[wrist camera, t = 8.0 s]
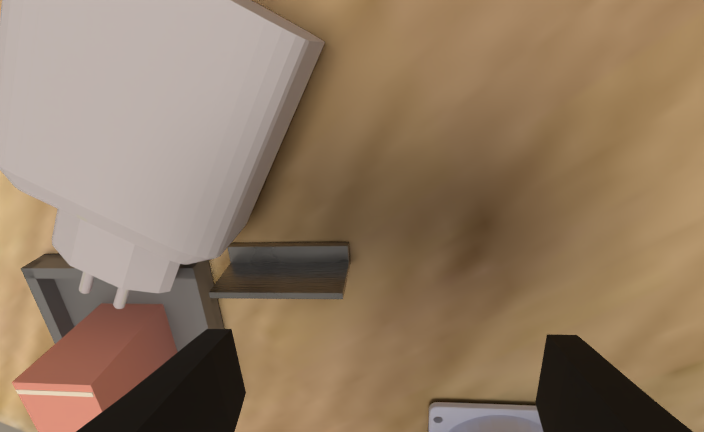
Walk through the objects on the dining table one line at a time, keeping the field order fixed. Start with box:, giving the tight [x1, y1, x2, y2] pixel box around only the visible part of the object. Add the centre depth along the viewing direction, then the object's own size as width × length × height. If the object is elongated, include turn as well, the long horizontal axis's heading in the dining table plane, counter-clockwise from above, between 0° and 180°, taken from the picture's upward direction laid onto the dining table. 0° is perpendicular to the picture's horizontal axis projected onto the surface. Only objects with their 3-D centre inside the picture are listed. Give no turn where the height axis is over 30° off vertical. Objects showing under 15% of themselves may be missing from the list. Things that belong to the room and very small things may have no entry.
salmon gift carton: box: [12, 303, 177, 432], centre depth 20 cm, size 4×4×6 cm
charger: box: [0, 0, 325, 309], centre depth 16 cm, size 5×9×15 cm
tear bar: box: [209, 242, 350, 299], centre depth 18 cm, size 1×6×3 cm, turn 94°
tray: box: [21, 254, 224, 352], centre depth 22 cm, size 10×9×2 cm
